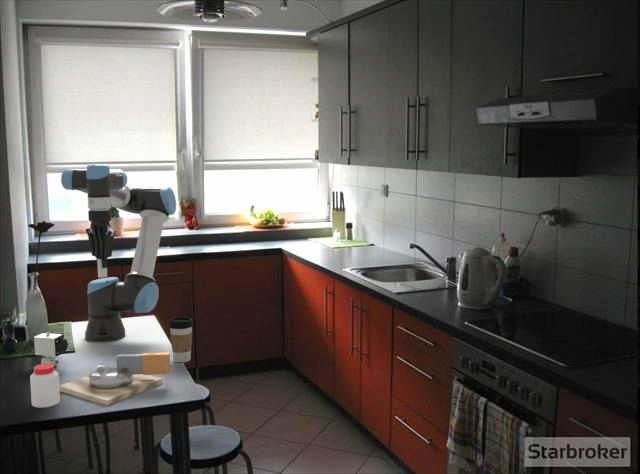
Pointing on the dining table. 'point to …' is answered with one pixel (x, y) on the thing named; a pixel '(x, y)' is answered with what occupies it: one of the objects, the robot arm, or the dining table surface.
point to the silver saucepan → (129, 369)
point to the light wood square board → (112, 394)
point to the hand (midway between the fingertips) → (102, 276)
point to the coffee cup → (181, 338)
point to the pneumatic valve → (49, 347)
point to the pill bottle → (45, 386)
